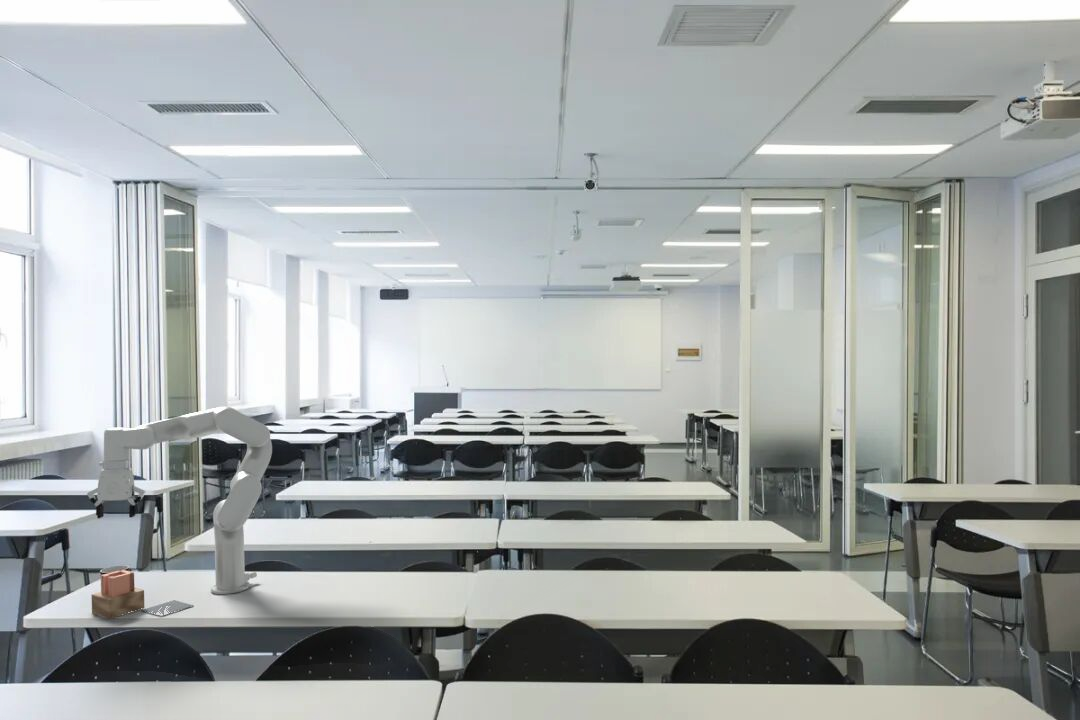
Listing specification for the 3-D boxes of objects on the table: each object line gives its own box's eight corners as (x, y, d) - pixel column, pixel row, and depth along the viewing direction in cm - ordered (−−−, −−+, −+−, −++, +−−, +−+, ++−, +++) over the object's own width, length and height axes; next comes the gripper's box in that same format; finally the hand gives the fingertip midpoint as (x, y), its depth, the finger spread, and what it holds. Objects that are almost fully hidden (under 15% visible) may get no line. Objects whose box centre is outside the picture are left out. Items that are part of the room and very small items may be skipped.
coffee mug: (116, 602, 248) (115, 573, 248) (94, 601, 250) (94, 572, 250) (141, 591, 259) (141, 563, 259) (120, 590, 261) (120, 562, 261)
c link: (123, 587, 245) (122, 569, 244) (134, 590, 241) (134, 572, 241) (101, 593, 239) (100, 575, 239) (112, 597, 235) (112, 578, 235)
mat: (174, 601, 248) (174, 600, 248) (193, 606, 242) (193, 605, 242) (141, 611, 239) (141, 609, 239) (160, 616, 233) (160, 615, 233)
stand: (126, 603, 247) (125, 573, 247) (144, 608, 241) (143, 577, 241) (91, 613, 238) (91, 582, 238) (109, 618, 232) (109, 587, 232)
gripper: (83, 467, 238) (82, 520, 238) (140, 466, 241) (140, 518, 241) (93, 464, 245) (92, 515, 245) (148, 463, 248) (148, 514, 248)
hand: (116, 517), depth 243 cm, fingers open, 9 cm apart
